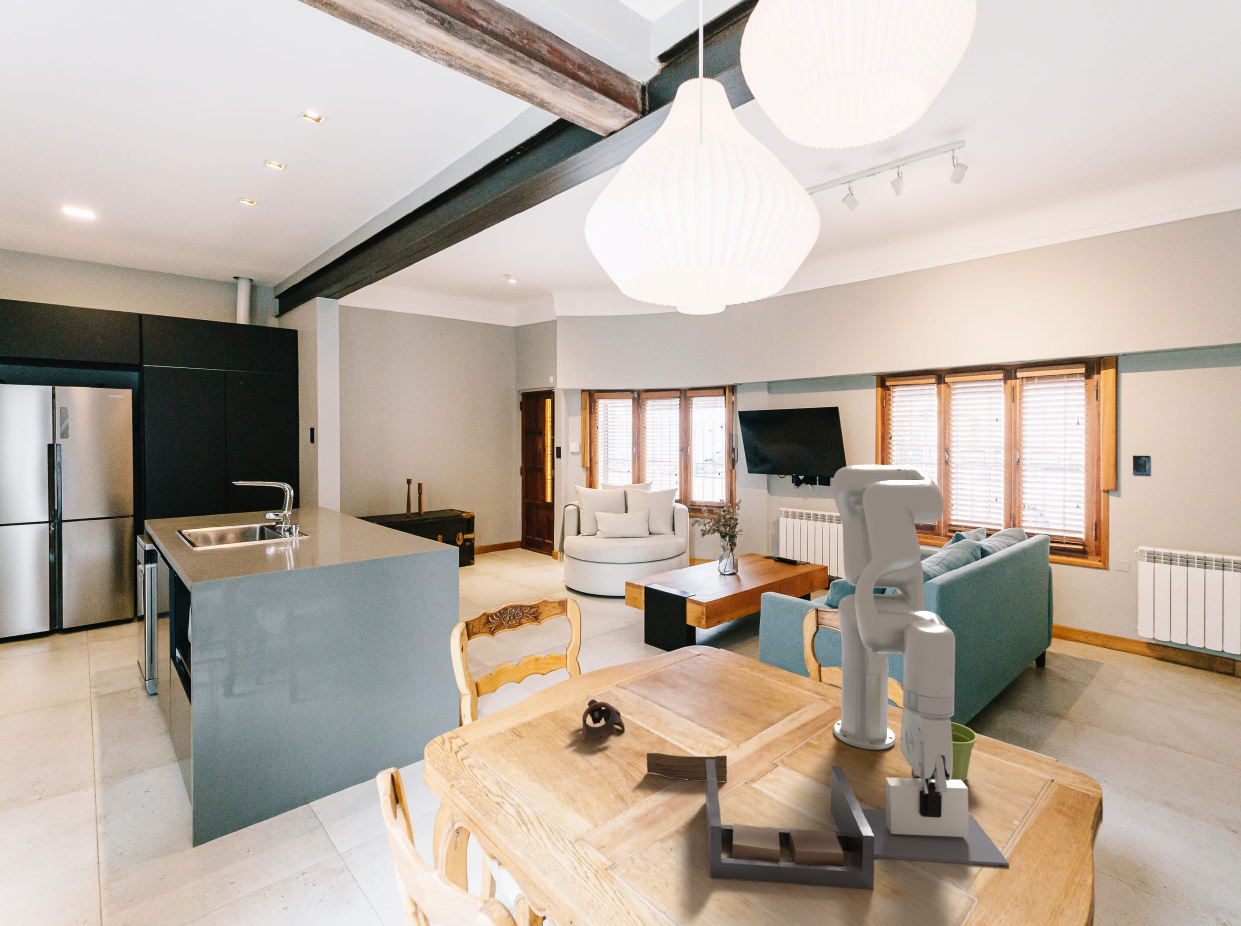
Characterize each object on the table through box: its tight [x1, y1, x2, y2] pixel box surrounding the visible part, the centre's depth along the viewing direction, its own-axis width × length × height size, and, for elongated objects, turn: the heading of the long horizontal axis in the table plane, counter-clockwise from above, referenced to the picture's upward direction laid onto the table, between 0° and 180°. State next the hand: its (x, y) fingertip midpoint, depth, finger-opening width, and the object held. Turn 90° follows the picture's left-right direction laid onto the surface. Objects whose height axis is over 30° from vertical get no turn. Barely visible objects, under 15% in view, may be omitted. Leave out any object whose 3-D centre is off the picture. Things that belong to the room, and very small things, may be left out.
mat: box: [861, 808, 1010, 867], centre depth 100 cm, size 12×20×1 cm, turn 84°
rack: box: [705, 759, 875, 890], centre depth 99 cm, size 19×24×8 cm
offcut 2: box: [788, 828, 845, 866], centre depth 93 cm, size 5×7×4 cm
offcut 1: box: [732, 823, 781, 862], centre depth 95 cm, size 5×7×4 cm
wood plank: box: [646, 752, 728, 783], centre depth 117 cm, size 15×2×5 cm, turn 83°
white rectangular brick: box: [885, 776, 969, 837], centre depth 100 cm, size 2×12×8 cm, turn 83°
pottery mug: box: [581, 698, 626, 741], centre depth 135 cm, size 12×10×8 cm
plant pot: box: [933, 721, 978, 783], centre depth 119 cm, size 9×9×9 cm
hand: (926, 809), depth 100 cm, fingers closed on white rectangular brick, 2 cm apart
